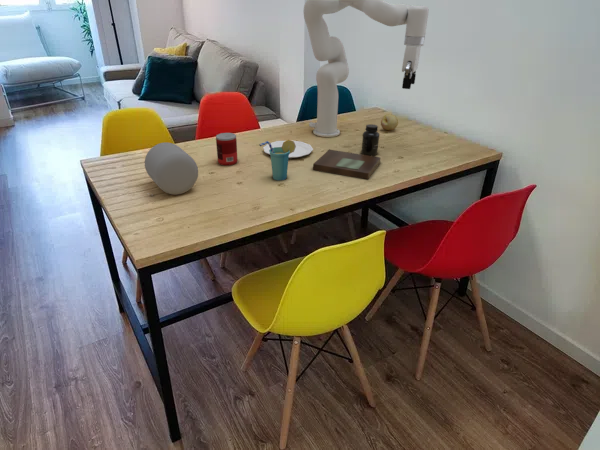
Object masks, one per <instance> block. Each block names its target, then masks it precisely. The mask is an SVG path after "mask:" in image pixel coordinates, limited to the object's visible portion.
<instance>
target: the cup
mask: <svg viewBox="0 0 600 450" xmlns="http://www.w3.org/2000/svg"><path fill="white" fill-rule="evenodd" d="M286 140H287V141H286ZM286 140H284V141H285V142H283V145H282V147H274V148H272V146H271V143H272V142H270V141H269V140H267V141H264V142H262V143H259V147H262V146H266V145H267V144H269V147H270V150H269V152H270V154H269V155H270V164H271V173H272V179H273V180H275V181H284V180H286V179H287V178H288V170H289V169H288V168H289V166H288V165H289V159H290V158H289V154H290V153H292V152H294V150H295V148H296V146H295V143H294V141H295V140H293V141H291V140H292V139H286Z"/></svg>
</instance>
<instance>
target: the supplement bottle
mask: <svg viewBox="0 0 600 450" xmlns="http://www.w3.org/2000/svg"><path fill="white" fill-rule="evenodd" d="M378 130H379V126H378V125H377V124H373V123H371V124H369V123H368V124H366V125H365V131H364V132H362V138H361V139H362V140H361V151H360V152H361V154H362V155H368V156H376V155H377V154H378V151H379V141H380V133H379V132H378Z"/></svg>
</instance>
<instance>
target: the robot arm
mask: <svg viewBox="0 0 600 450" xmlns="http://www.w3.org/2000/svg"><path fill="white" fill-rule="evenodd" d="M347 7H351V8H353V9H356V10H358V11H359V12H362V13H364V14H365V15H366V16H367V17H368V18H370V19H372V20H373V21H375V22H376V23H377V22H378V23H379V24H382V25H384V26H386V27H397V26H404V25H405V34H404V41H403V45H404V46H405V49H404V53H403V59H402V66H401V73H403V78H402V85H401V87H402V88H401V89H404V90H411V88H412V87H411V86H412V85H415V83H416V76H417V74H416V73H417V70H418V66H419V63H420V62H419V61H420V54H421V47H424V46H425V39H426V34H427V33H426V32H427V27H428V18H429V6H426V5H421V4H420V5H419V4H417V5H414V4H413V5H411V4H407V3H395V4H393V3H391V2H388V1H386V0H305V2H304V5H303V19H304V23H305V26H306V28H307V32H308V36H309V40H310V45H311V48H312V54H313V56H314V58H315V59H316V60H317V61H319V62H327V63H325V64H323V65H321V66H319V68H318V69H317V70H316V73H315V74H316V75H315V76H316V77H315V79H316V80H315V81H316V85H317V86H316V87H317V103H316V105H317V106H316V107H317V109H316V122H312V121H309V123H308V126H309V128H311V129H312V128H313V130H312V132H313V134H314V136H318V137H321V138H333V137H334V138H335V137H337V136H340V133H341V131H340V129H339V128H338V113H339V112H338V111H339V89H338V86H337V85H338V84H341V83H343V82H345V81H346V80H347V79H348V77H349V73H350V69H349V64H348V59H347V56H346V52H345V51H346V50H345V47H344V43H343V42H342V40H341V39H339V37H336V36H333V35H332V36H331V35H330V32H329V27H328V25H327V22H326V20H325V19H324V18H323V16H324V15H329V14H336V13H338V12H340V11H342V10H343V9H344V10H345V8H347Z"/></svg>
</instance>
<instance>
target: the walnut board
mask: <svg viewBox="0 0 600 450" xmlns="http://www.w3.org/2000/svg"><path fill="white" fill-rule="evenodd" d="M380 164H381V157H380V156H376V155H374V156H368V155H364V154H362V153H355V152H350V151H349V152H348V151H342V150H337V149H336V150H335V149H328V150H327V151H326V152H324V154H323V155H321V157H319V158H318V159H317V160H316V161H314V163H313V164H312V169H313V171H318V172H323V173H329V174H334V175H341V176H346V177H351V178H358V179H364V180H369V179H370V178H371V176H372V175H373V174H374V172H375V171H376V169H378V167H379V166H380Z"/></svg>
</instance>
